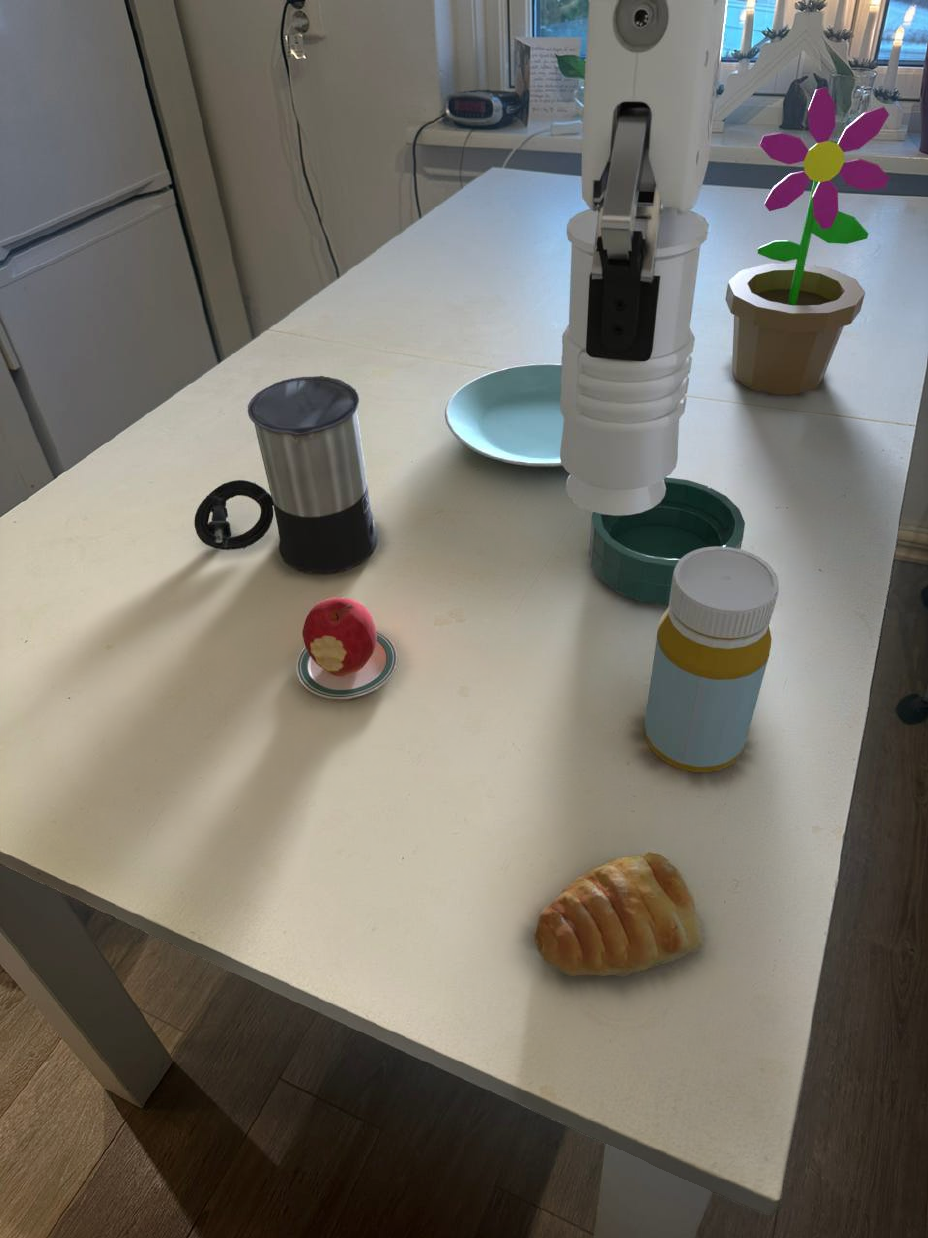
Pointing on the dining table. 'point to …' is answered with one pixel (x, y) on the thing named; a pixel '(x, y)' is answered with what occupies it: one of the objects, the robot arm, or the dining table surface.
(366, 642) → the apple
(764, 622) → the bottle
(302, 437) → the milk frother
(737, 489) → the dining table surface
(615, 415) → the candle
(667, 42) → the robot arm
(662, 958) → the pastry
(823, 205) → the flowerpot
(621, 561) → the bowl
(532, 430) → the plate
